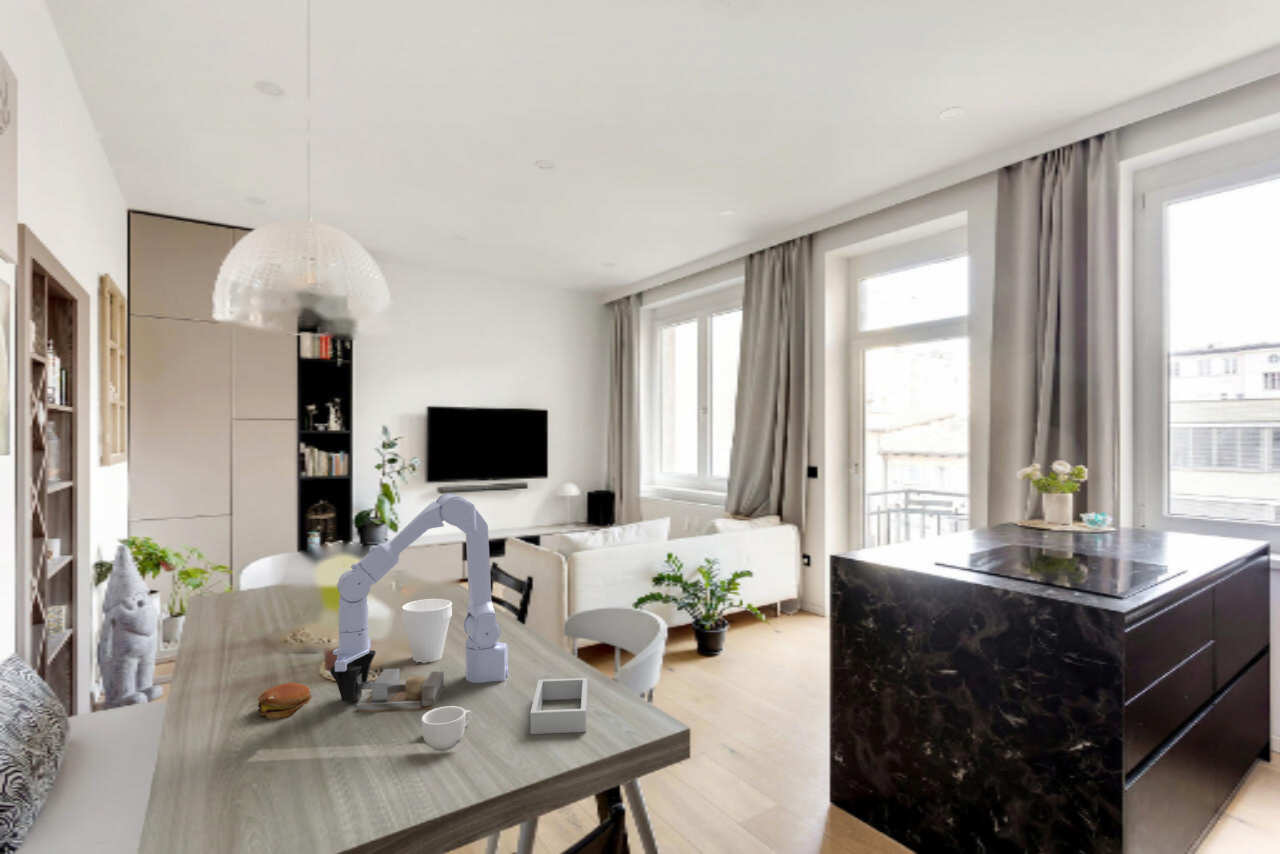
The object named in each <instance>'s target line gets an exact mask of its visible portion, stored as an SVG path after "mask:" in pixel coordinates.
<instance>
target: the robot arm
mask: <svg viewBox="0 0 1280 854" xmlns="http://www.w3.org/2000/svg"><path fill="white" fill-rule="evenodd" d="M444 522H446V523H447V524H448V525H451V526H454V527H456V528H458V529H459V530H460V531H462V532H463V533H464V534H465V542H466V545H465V546H466V563H467V564H466V566H467V567H466V568H467V585H468V586H467V587H468V604H467V606H466V617H465V619H464V621H463V629H464V632H465V633H466V635H467V636H468V637H467V640H466V641H465V680H466V681H467V682H469V683H474V684H475V683H476V684H481V683H489V682H504V684H503V689H504V688H505V686H506V683H507V681H508V679H509V646H508V643H505V642H499V638H500V636H501V627H500V625H499V623H498V621H497V618H496V612H495V609H494V605H493V602H492V587H491V586H492V585H491V583H492V582H491V565H490V564H491V563H490V545H489V544H490V543H489V541H490V539H489V527H488V523H487V522H486V520H485V519H484V517H483V516H482V515H481V513H480V512H479V511H478V510H477V509H476V506H475V504H474V503H473V502H471V501H469V500H468V499H466V498H464V497H462V496H458V495H456V494H454V493H450V492H449V493H444V494H442V495H440V496H438V498H437V499H436V501H433V502H430V503H429V504H428V505H427V506H426V507H424V509H423V510H421V512H419V513H418V514H417V516H415V517H414V518H413V519H412V520H411V521H410V522H409V523H408V524H407V525H406V526H405V527H404V528H403V529H402V530H401V531H399V533H398V534H396V535H395V536H394V537H393V539H392V540H390V542H387V543H386V542H384V543H383V542H382V543H381V542H380V543H378V544H377V545H376V546H375V545H372V546H371V547H369V549H368V551H369V553H367V554H366V555H364V557H363V558H362V559H360V560H359V561H358V562H357V563H353V564H351V565H350V570H346V571H344V572H343V573H342V574H341V575H340V576H339V578H338V580H337V581H338V582H337V583H336V588H337V590H338V593H339V599H338V605H339V607H338V648H335V649H334V650H333V651H332V655H333V656H336V660H335V661H334V665H333V666H332V667H331V668H330V669H329V670H330V672H329V673H330V675H331V676H332V677H333V679H334V680H335V683H336V685H337V688H338V690H339V691H338V692H339V695H340V698H341V701H342V702H346V701H349V702H353V701H352V700H353V699H354V696H355V689H356V682H357V677H358V674H359V673H362V682H368V678H369V677H368V675H369V672H370V668H371V666H372V663H373V660H374V657H376V653H377V652H376V650H371V648H372V646H371V645H372V639H371V638H369V605H368V595H369V593H370V591H371V586H372V585H375V584H377V582H379V581H380V580H381V579H382V578H383V577H384V576H385V575H386V574H387V573H388V572H390V571H391V570H393V568H394V567H395V566H397V564H399V559H400V554H401V553H402V552H403V551H404V550H406V549H407V548H408V547H409V546H410V545H412V544H413V543H414V542H415V541H417V540H418V539H419V538H420V537H421V536H422V535H423V534H424V533H425V532H427V531H428V530H431V529H436V528H442V527H445V525H444Z"/></svg>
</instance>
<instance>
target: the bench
mask: <svg viewBox="0 0 1280 854" xmlns="http://www.w3.org/2000/svg"><path fill="white" fill-rule="evenodd" d="M444 680H445V678H444V671H442V670H441V671H431V672H430V674H429V675H428V676H427V678H426V681H425V682H424V684H423V685H422V700H421V701H406V687H405V683H400V690H399V691H398V693H397V694H396V695H395V697H394V698H393V699H392V700H391V702H372V693H370V695H369V696H368V697H367V699H366V700H365V701H364V702H358V703H357V704H356V711H355V713H357V714H358V713H380V712H383V713H385V712H403V711H405V712H406V711H430V710H433V709H434V707H435V705H436V704H437V702H438V700H439V699H440V697H441V695H442V693H443V692H444V690H445V689H446V687H447V686H446V685H444Z"/></svg>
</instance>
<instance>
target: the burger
mask: <svg viewBox="0 0 1280 854" xmlns="http://www.w3.org/2000/svg"><path fill="white" fill-rule="evenodd" d="M311 692H312V690H311V689H310V688H309V686H307V685H304V684H302V683H300V682H299V683H298V682H286V683H282V684H278V685H274V686H273V687H270V688H268V689H266V690H264V692H262V693H260V695H259V696H258V698H257V700H258V704H257V707H258V708H259V709H258V710H257V713H260V715H261V716H262V717H266V718H267V719H268V720H279V719H283V718H290V717H292V716H293V715H294V714H295V713H296V712H298V711H299V710H300V709H301V708H302V707H303V706H304V705H306V704H308V703H310V701H311V700H312V695H311Z"/></svg>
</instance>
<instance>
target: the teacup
mask: <svg viewBox="0 0 1280 854" xmlns="http://www.w3.org/2000/svg"><path fill="white" fill-rule="evenodd" d="M467 714H468V716H469V717H468V719H467V721H466V718H467V717H466V716H467ZM472 718H473V713H472V711H471V710H468V709H467V710H466V709H465V708H463V707H461V706H457V705H456V706H455V705H449V706H447V705H446V706H440V707H436V708H432V710H427V712H425V713H424V714H423V715H422V716H421V729H422V732H421V733H422V737H423V740H424V742H425V744H426V745H427V746H428V747H429V748H430V749H433V750H436V751H445V750H449V749H451V748H454V747H455V746H456V745H458V744H459V743H460V742H461V741H460V740H461V739H462V738H463V737H464V734H465V729H466V727H468V725H469V724H470V723H471V721H472Z"/></svg>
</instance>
